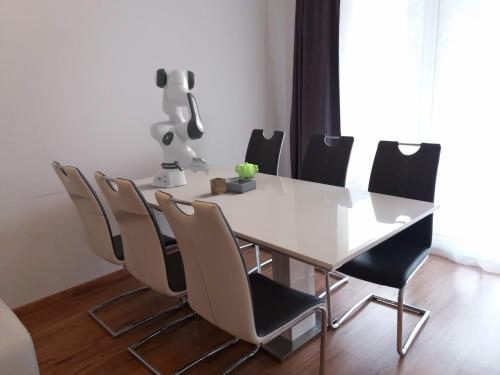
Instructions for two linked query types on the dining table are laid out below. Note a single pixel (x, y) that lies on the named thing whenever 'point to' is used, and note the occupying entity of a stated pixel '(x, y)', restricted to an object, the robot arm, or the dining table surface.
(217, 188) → the walnut crate
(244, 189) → the charcoal crate
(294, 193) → the dining table surface
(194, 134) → the robot arm
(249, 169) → the teapot
